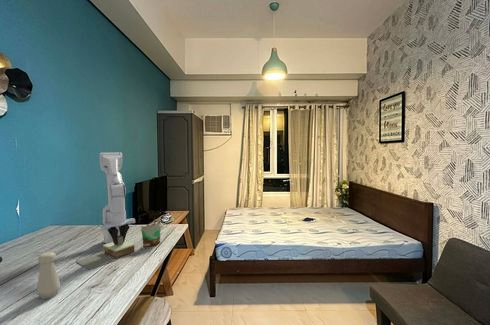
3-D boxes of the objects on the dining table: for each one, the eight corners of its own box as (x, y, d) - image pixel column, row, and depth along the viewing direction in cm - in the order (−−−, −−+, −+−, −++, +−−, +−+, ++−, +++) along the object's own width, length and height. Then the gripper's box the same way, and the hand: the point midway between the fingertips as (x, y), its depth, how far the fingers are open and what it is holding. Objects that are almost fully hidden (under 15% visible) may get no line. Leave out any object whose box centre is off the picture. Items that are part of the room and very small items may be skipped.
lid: (103, 246, 112) (102, 237, 111) (122, 240, 119) (122, 231, 118) (115, 251, 105) (115, 241, 105) (135, 245, 112) (134, 235, 112)
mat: (76, 262, 103) (76, 261, 103) (102, 253, 111) (102, 253, 111) (89, 269, 96) (89, 269, 96) (116, 260, 104) (116, 259, 104)
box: (104, 253, 112) (104, 246, 112) (122, 247, 118) (122, 240, 118) (116, 258, 106) (116, 251, 106) (134, 252, 112) (134, 245, 112)
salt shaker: (45, 290, 82) (43, 250, 81) (64, 289, 82) (62, 249, 82) (32, 301, 76) (29, 258, 75) (52, 300, 76) (50, 257, 76)
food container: (153, 249, 115) (153, 227, 115) (141, 248, 116) (140, 226, 116) (167, 239, 127) (166, 219, 127) (156, 239, 129) (155, 219, 128)
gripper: (105, 216, 103) (106, 250, 104) (138, 209, 115) (139, 239, 115) (96, 214, 107) (98, 246, 108) (129, 208, 119) (131, 237, 120)
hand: (119, 243), depth 112 cm, fingers closed on lid, 2 cm apart
